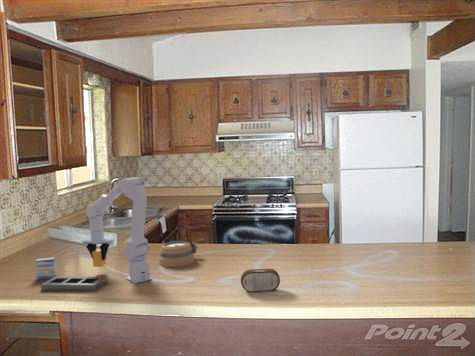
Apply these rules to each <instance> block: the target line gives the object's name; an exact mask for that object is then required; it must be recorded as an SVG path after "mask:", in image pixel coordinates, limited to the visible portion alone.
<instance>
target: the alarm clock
mask: <svg viewBox="0 0 475 356" xmlns="http://www.w3.org/2000/svg"><path fill="white" fill-rule="evenodd" d="M160 248H161V249H160V255H158V263H159V265H160V266H161V267H165V268H179V267H185V266H189V265H191V264H193V263H194V262H195V254H196V253H197V251H198V248H199V246H197V244H196V243H195V242H194V241H191V242H189V241H185V240H172V241H169V242H165V243H164V244H162V245H161V247H160Z"/></svg>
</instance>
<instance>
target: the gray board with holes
mask: <svg viewBox="0 0 475 356" xmlns="http://www.w3.org/2000/svg"><path fill="white" fill-rule="evenodd" d="M106 284H108V277H107V276H56V277H53V278H49V279H47V280H46V281H45V282H43V283H41V284H40V288H41V289H40V290H41V291H52V292H53V291H55V292H56V291H57V292H60V291H61V292H65V291H66V292H97V291H98V290H99V289H101V288H102V287H104V286H105V285H106Z"/></svg>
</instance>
